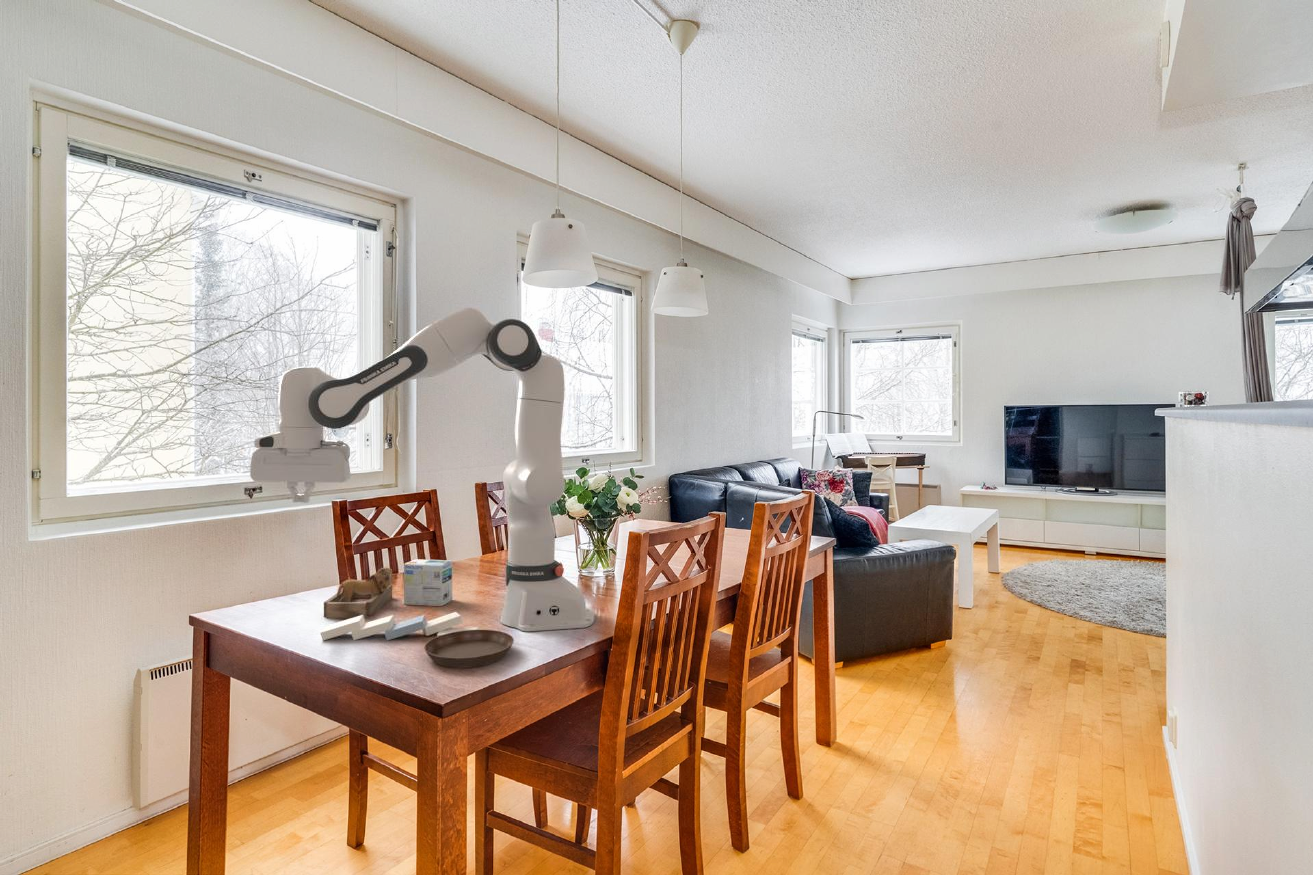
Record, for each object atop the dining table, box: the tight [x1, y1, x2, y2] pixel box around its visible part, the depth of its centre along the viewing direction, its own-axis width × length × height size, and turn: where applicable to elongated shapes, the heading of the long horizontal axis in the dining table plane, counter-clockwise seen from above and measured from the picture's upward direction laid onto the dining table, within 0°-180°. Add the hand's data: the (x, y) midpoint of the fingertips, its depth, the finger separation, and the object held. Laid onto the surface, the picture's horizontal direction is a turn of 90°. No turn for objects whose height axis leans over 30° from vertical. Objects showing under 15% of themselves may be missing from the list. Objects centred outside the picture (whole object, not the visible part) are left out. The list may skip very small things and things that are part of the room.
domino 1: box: [320, 615, 366, 641], centre depth 149 cm, size 2×5×8 cm
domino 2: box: [350, 614, 397, 641], centre depth 150 cm, size 2×5×8 cm
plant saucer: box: [423, 629, 515, 669], centre depth 139 cm, size 18×18×3 cm
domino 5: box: [436, 626, 479, 637], centre depth 151 cm, size 2×5×8 cm
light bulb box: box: [403, 558, 453, 607], centre depth 177 cm, size 11×7×11 cm, turn 84°
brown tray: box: [323, 584, 393, 619], centre depth 172 cm, size 11×19×4 cm, turn 5°
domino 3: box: [384, 614, 427, 641], centre depth 150 cm, size 2×5×8 cm
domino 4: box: [421, 611, 463, 637], centre depth 153 cm, size 2×5×8 cm
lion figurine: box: [336, 567, 394, 602], centre depth 172 cm, size 15×5×9 cm, turn 124°
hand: (301, 502), depth 151 cm, fingers closed
